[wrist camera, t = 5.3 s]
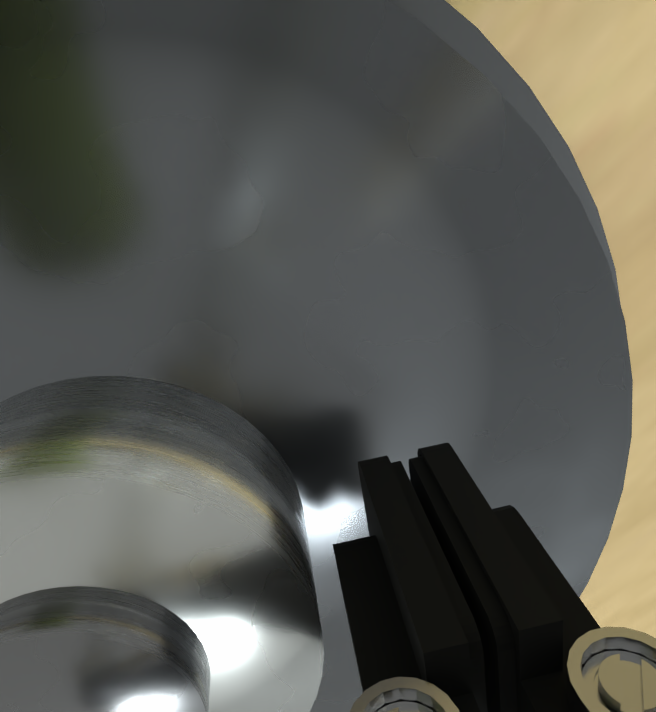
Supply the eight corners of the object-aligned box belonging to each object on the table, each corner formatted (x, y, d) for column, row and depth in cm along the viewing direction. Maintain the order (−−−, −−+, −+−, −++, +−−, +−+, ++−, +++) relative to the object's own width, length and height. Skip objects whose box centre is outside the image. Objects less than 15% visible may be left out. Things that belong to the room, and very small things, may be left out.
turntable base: (-780, -16, 8) (-951, -39, 7) (625, -205, 10) (678, -250, 9) (-104, 831, 17) (-130, 884, 16) (585, 667, 18) (609, 704, 17)
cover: (-151, 417, 9) (-391, 597, 6) (271, 342, 10) (286, 464, 6) (4, 701, 12) (-94, 938, 9) (327, 631, 12) (358, 828, 9)
